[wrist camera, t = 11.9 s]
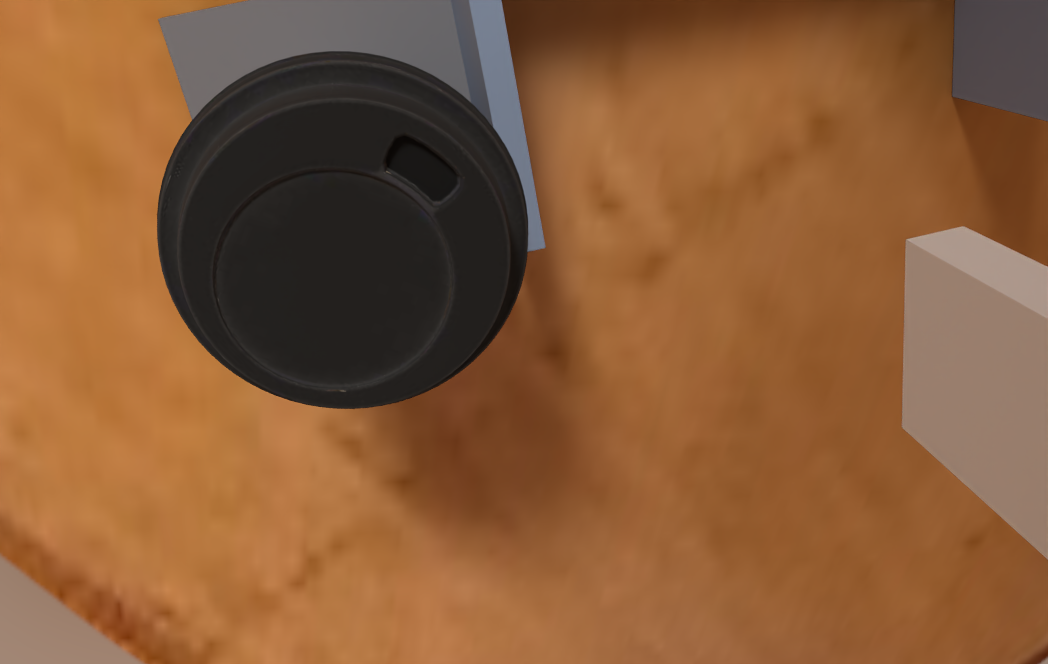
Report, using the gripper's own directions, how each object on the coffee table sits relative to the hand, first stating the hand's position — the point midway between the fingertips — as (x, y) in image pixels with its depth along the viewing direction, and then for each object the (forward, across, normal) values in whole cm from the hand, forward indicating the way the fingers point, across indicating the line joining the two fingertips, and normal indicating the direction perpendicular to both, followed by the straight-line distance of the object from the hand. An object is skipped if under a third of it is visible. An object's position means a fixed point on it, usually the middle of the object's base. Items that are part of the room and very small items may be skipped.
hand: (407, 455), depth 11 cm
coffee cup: (+26, -1, -2) cm, 26 cm away
